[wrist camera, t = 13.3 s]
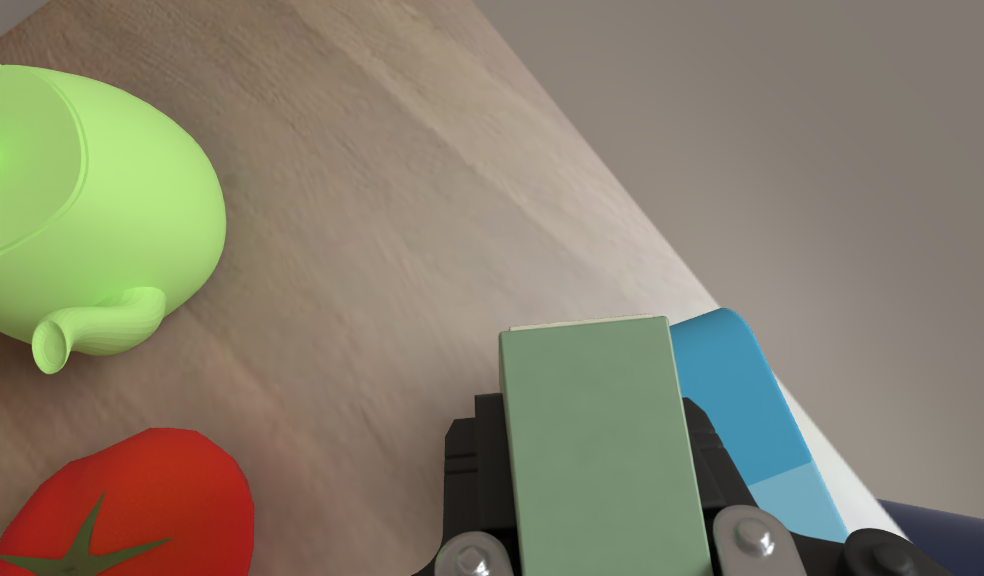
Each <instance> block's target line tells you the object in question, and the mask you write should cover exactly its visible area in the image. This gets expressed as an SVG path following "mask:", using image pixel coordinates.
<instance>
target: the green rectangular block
mask: <svg viewBox="0 0 984 576" xmlns="http://www.w3.org/2000/svg"><path fill="white" fill-rule="evenodd" d="M499 385H500V393H502V394H503V403H504V413H505V422H506V431H507V440H508V449H509V458H510V468H511V477H512V486H513V495H514V504H515V513H516V523H517V534H518V546H519V558H520V570H521V576H714V574H713V568H712V563H711V557H710V552H709V546H708V540H707V535H706V529H705V524H704V518H703V512H702V507H701V501H700V496H699V490H698V484H697V479H696V473H695V467H694V462H693V456H692V451H691V445H690V439H689V434H688V428H687V423H686V417H685V411H684V406H683V400H682V395H681V389H680V383H679V378H678V372H677V367H676V361H675V355H674V350H673V344H672V339H671V333H670V327H669V322H668V319H667V317H664V316H660V317H653V314H640V315H630V316H619V317H609V318H598V319H588V320H578V321H567V322H557V323H546V324H536V325H525V326H515V327H510V328H509V331H504V332H501V333H499Z"/></svg>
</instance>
